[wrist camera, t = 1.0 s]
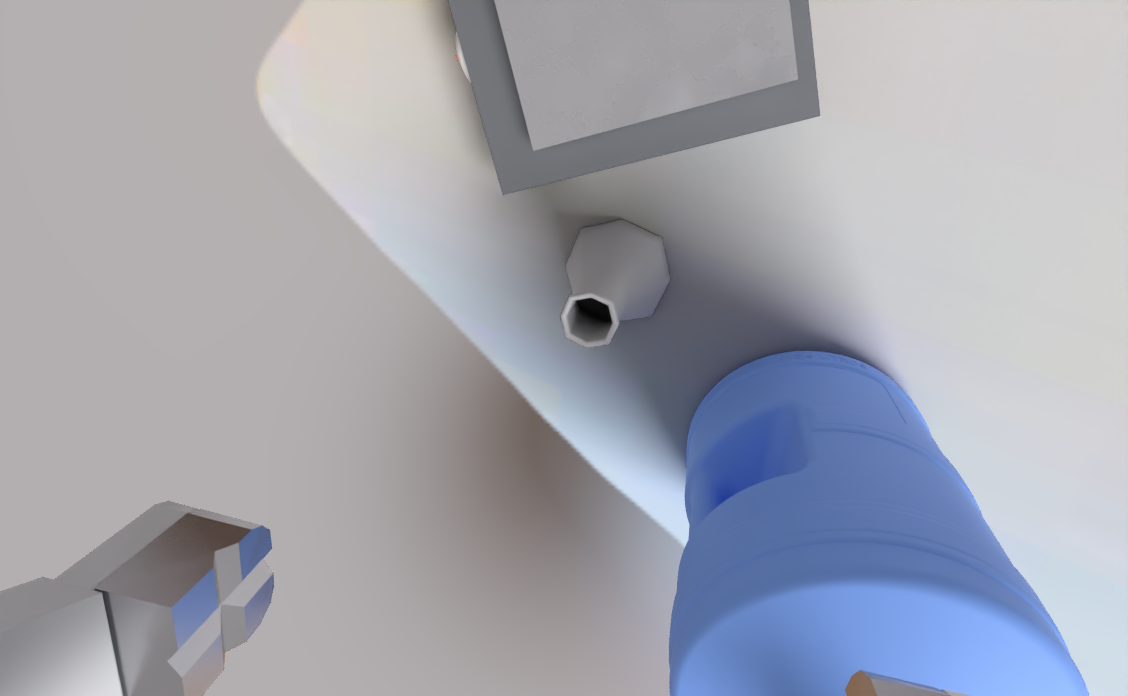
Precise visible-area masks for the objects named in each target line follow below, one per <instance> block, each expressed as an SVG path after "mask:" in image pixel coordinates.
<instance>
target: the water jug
mask: <svg viewBox="0 0 1128 696" xmlns="http://www.w3.org/2000/svg"><path fill="white" fill-rule="evenodd" d="M686 468H687V474H686V486H685V507H686V513H687V517H688V521H689V524H690V526H689V540H688V542H687V544H686V546H685V549H684V551H683V554H682V557H681V561H680V565H679V571H678V581H677V593H676V596H675V600H674V605H673V610H672V617H671V627H670V638H669V664H670V696H847V695H846V692H845V688H846V686H847V684H848V682H849V680H850V678H851V676H852V675H854V674H855V673H856V672H858V671H859V670H862V671H866V672H871V673H875V674H879V675H884V676H888V677H892V678H897V679H901V680H905V681H910V682H914V683H918V684H923V685H927V686H931V687H935V688H938V689H940V690H941V689H944V690H948V691H953V692H957V693H961V694H966V695H970V696H1089V693H1088V690H1087V687H1086V685H1085V682H1084V680H1083V678H1082V676H1081V674H1080V672H1079V670H1078V668H1077V666H1076V665H1075V663H1074V662H1073V660H1072V658H1071V656H1070V653H1069V651H1068V648H1067V646H1066V644H1065V642H1064V640H1063V638H1062V636H1061V634H1060V632H1059V630H1058V628H1057V627H1056V625H1055V623H1054V622H1053V620H1052V618H1051V617H1050V615H1049V614H1048V612H1047V611H1046V609H1045V607H1044V606H1043V604H1042V603H1041V601H1040V600H1039V598H1038V596H1037V595H1036V593H1035V592H1034V590H1033V589H1032V588H1031V586H1030V585H1029V584H1028V583H1027V581H1026V580H1025V579H1024V577H1023V576H1022V575H1021V574H1020V573H1019V571H1018V570H1017V569H1016V568H1015V567H1014V566H1013V564H1012V563H1011V561H1010V560H1009V558H1008V556H1007V555H1006V553H1005V552H1004V550H1003V548H1002V547H1001V545H1000V544H999V542H998V541H997V539H996V537H995V536H994V534H993V533H992V531H991V529H990V528H989V526H988V525H987V523H986V522H985V520H984V518H983V516H982V514H981V511H980V509H979V507H978V505H977V503H976V501H975V499H974V497H973V495H972V493H971V492H970V490H969V488H968V487H967V485H966V484H965V482H964V481H963V479H962V478H961V476H960V474H959V473H958V472H957V470H956V469H955V468H954V466H953V465H952V464H951V463H950V462H949V460H948V459H947V458H946V457H945V456H944V455H943V453H942V452H941V450H940V449H939V447H938V445H937V444H936V442H935V441H934V439H933V438H932V436H931V434H930V431H929V429H928V426H927V424H926V422H925V420H924V418H923V417H922V415H921V414H920V412H919V410H918V409H917V407H916V406H915V404H914V403H913V401H912V400H911V399H910V397H909V396H908V395H907V394H906V392H905V391H904V390H903V389H902V388H901V387H900V386H899V385H898V384H897V383H895V382H894V381H893V380H892V379H891V378H889V377H888V376H887V375H885V374H884V373H882V372H881V371H879V370H877V369H876V368H874V367H872V366H870V365H868V364H866V363H863V362H861V361H859V360H856V359H853V358H850V357H847V356H843V355H839V354H834V353H829V352H821V351H792V352H784V353H779V354H774V355H770V356H766V357H763V358H760V359H757V360H754V361H752V362H750V363H747V364H745V365H743V366H741V367H740V368H738V369H736V370H734V371H733V372H731V373H730V374H728V375H727V376H726V377H724V378H723V379H722V380H721V381H719V382H718V383H717V384H716V385H715V386H714V387H713V388H712V389H711V390H710V391H709V392H708V394H707V395H706V396H705V397H704V399H703V400H702V402H701V403H700V405H699V407H698V408H697V410H696V412H695V414H694V417H693V419H692V422H691V425H690V428H689V432H688V438H687V448H686Z"/></svg>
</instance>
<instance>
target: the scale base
mask: <svg viewBox="0 0 1128 696" xmlns="http://www.w3.org/2000/svg"><path fill="white" fill-rule="evenodd" d="M448 2H449V6H450V9H451V13H452V16H453V20H454V24H455V27H456V34H455V45H456V51H457V55H456V58H457V61H459V62H460V64H461V67H462V69H463V71H464V73H465V75H466V77H467V79H468V80H469V82H470V83H471V84H472V87H473V91H474V94H475V98H476V102H477V105H478V109H479V112H480V116H481V119H482V123H483V126H484V130H485V133H486V137H487V141H488V144H489V148H490V151H491V155H492V158H493V162H494V165H495V169H496V172H497V176H498V180H499V183H500V187H501V190H502V194H503V195H504V194H508V193H513V192H517V191H521V190H525V189H529V188H533V187H537V186H541V185H545V184H549V183H553V182H557V181H561V180H565V179H569V178H573V177H577V176H581V175H585V174H589V173H593V172H597V171H601V170H605V169H609V168H613V167H617V166H621V165H625V164H629V163H633V162H637V161H641V160H645V159H649V158H653V157H657V156H661V155H665V154H669V153H673V152H677V151H681V150H685V149H689V148H693V147H697V146H701V145H705V144H709V143H713V142H717V141H721V140H725V139H729V138H733V137H737V136H741V135H745V134H749V133H753V132H757V131H761V130H765V129H769V128H773V127H777V126H781V125H785V124H789V123H794V122H798V121H802V120H806V119H810V118H814V117H818V116H820V109H819V99H818V89H817V80H816V70H815V60H814V51H813V41H812V31H811V21H810V12H809V2H808V0H789V2H790V11H791V20H792V29H793V38H794V47H795V55H796V64H797V73H798V80H794V81H791V82H787V83H783V84H779V85H776V86H772V87H768V88H765V89H761V90H757V91H753V92H750V93H746V94H742V95H739V96H735V97H731V98H728V99H724V100H720V101H716V102H713V103H709V104H705V105H702V106H698V107H694V108H690V109H687V110H683V111H679V112H676V113H672V114H668V115H665V116H661V117H657V118H653V119H650V120H646V121H642V122H639V123H635V124H631V125H627V126H624V127H620V128H616V129H613V130H609V131H605V132H602V133H598V134H594V135H590V136H587V137H583V138H579V139H576V140H572V141H568V142H564V143H561V144H557V145H553V146H550V147H546V148H542V149H539V150H535V151H533V148H532V144H531V140H530V136H529V133H528V129H527V125H526V121H525V117H524V113H523V109H522V106H521V102H520V98H519V94H518V90H517V86H516V82H515V79H514V75H513V71H512V67H511V63H510V59H509V55H508V52H507V48H506V44H505V40H504V36H503V32H502V28H501V25H500V21H499V17H498V13H497V9H496V5H495V1H494V0H448Z"/></svg>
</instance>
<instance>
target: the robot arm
mask: <svg viewBox="0 0 1128 696" xmlns="http://www.w3.org/2000/svg"><path fill="white" fill-rule="evenodd" d="M270 535H271V534H270V530H269V529H267V528H265V527H264V526H262V525H258V524H254V523H251V522H247V521H243V520H240V519H236V518H232V517H229V516H225V515H221V514H218V513H214V512H210V511H207V510H203V509H197V508H193V507H189V506H185V505H182V504H178V503H175V502H171V501H166V502H163V503H159V504H155V505H154V506H152V507H151V508H150V509H148V510H147V511H146V512H144V513H143V514H141V515H140V516H139V517H137V518H136V519H135V520H133V521H132V522H131V523H129V524H128V525H127V526H125V527H124V528H123V529H121V530H120V531H119V532H117V533H116V534H114V535H113V536H112V537H110V538H109V539H108V540H106V541H105V542H104V543H102V544H101V545H100V546H99V547H97V548H96V549H94V550H93V551H92V552H90V553H89V554H88V555H86V556H85V557H84V558H82V559H81V560H80V561H78V562H77V563H75V564H74V565H73V566H71V567H70V568H69V569H67V570H66V571H65V572H63V573H62V574H61V575H59V576H58V577H57V578H55V579H49V578H45V577H41V578H38V579H36V580H33V581H30V582H27V583H24V584H21V585H18V586H15V587H12V588H9V589H6V590H3V591H1V592H0V696H203V695H204V693H205V692H206V691H207V690H208V689H209V687H210V686H211V685H212V684H213V682H214V681H215V680H216V679H217V677H218V676H219V675H220V673H222V671H223V670H224V661H225V652H227V651H229V650H231V649H232V648H235V647H237V646H239V645H241V644H243V643H245V642H247V640H248V639H249V638H250V636H251V635H252V634H253V633H254V631H255V630H256V629H257V628H258V626H259V625H260V624H261V622H262V619H263V617H264V615H265V613H266V611H267V609H268V607H269V605H270V603H271V598H272V593H273V588H274V578H273V577H274V576H273V572H272V570H271V569H270V568H269V566H268V565H267V563H266V562H265V561H264V559H263V558H264V557H265V556H266V555H267V553H268V552H269V551H270V550H271V549H272V543H271V536H270ZM845 692H846V695H847V696H970V695H966V694H961V693H957V692H953V691H948V690H944V689H941V690H940V689H938V688H935V687H931V686H927V685H923V684H918V683H914V682H910V681H905V680H901V679H897V678H892V677H888V676H884V675H879V674H875V673H871V672H866V671H862V670H859V671H858V672H856V673H855V674H854V675H852V676H851V678H850V680H849V682H848V684H847V686H846V688H845Z"/></svg>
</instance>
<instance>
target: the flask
mask: <svg viewBox="0 0 1128 696" xmlns="http://www.w3.org/2000/svg"><path fill="white" fill-rule="evenodd" d="M565 267H566V271H567V275H568V279H569V283H570V287H571V291H572V294H570V295H569V296H568V299H567V301H566V303H565V306H564V308H563V310H562V312H561V315H560V319H561V323H562V326H563V330H564V334H565V338H567V339H569V340H571V341H573V342H575V343H577V344H579V345H581V346H583V347H585V348H590V347H596V346H603V345H609V344H610V342H611V340H612V338H613V336H614V334H615V332H616V330H617V327H618V325H619V322H620V321H625V320H631V319H637V318H643V317H649V316H652V315H653V313H654V311H655V309H656V307H657V305H658V303H659V301H660V299H661V297H662V295H663V293H664V291H665V289H666V288H667V286H668V284H669V282H670V275H669V270H668V265H667V260H666V254H665V249H664V244H663V239H662V238H661V237H659V236H657V235H655V234H653V233H650V232H648V231H646V230H644V229H642V228H640V227H638V226H635V225H633V224H631V223H629V222H627V221H625V220H618V221H613V222H609V223H604V224H599V225H595V226H590V227H586V228H581V230H580V232H579V235H578V237H577V239H576V242H575V244H574V246H573V249H572V251H571V254H570V256H569V258H568V261H567V263H566V265H565Z"/></svg>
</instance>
